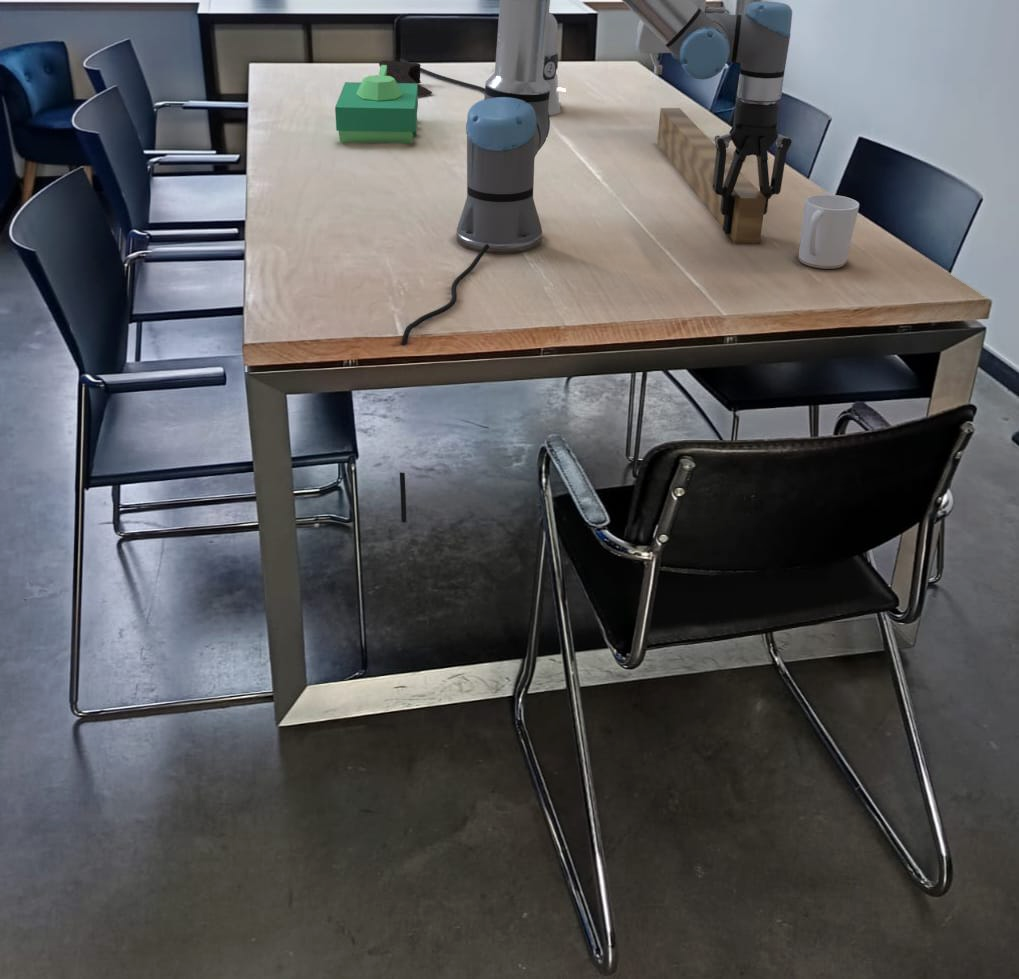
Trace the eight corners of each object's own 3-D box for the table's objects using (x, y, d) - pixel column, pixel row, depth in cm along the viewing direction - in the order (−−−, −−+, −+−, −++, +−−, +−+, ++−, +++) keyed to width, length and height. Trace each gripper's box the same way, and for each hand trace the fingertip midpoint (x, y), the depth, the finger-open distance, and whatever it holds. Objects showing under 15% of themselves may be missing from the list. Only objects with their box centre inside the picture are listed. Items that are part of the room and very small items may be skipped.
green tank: (418, 61, 273) (414, 91, 243) (418, 112, 279) (415, 147, 249) (346, 59, 272) (334, 89, 242) (349, 110, 278) (337, 146, 249)
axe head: (443, 87, 294) (392, 77, 287) (436, 115, 299) (385, 106, 292) (421, 62, 307) (371, 52, 300) (414, 89, 311) (365, 80, 304)
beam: (759, 243, 197) (766, 198, 193) (735, 243, 197) (741, 198, 193) (676, 144, 257) (679, 107, 253) (657, 144, 257) (660, 107, 252)
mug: (809, 248, 195) (819, 191, 189) (856, 260, 190) (868, 201, 185) (780, 264, 188) (790, 205, 182) (829, 277, 183) (840, 216, 177)
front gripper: (801, 95, 193) (781, 224, 205) (703, 95, 191) (689, 225, 204) (814, 105, 186) (793, 237, 199) (713, 104, 185) (698, 238, 197)
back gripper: (728, 5, 240) (720, 71, 247) (636, 4, 238) (631, 71, 246) (735, 9, 235) (728, 76, 242) (641, 8, 233) (636, 76, 240)
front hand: (740, 231), depth 201 cm, fingers closed on beam, 5 cm apart
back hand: (678, 74), depth 244 cm, fingers open, 8 cm apart
